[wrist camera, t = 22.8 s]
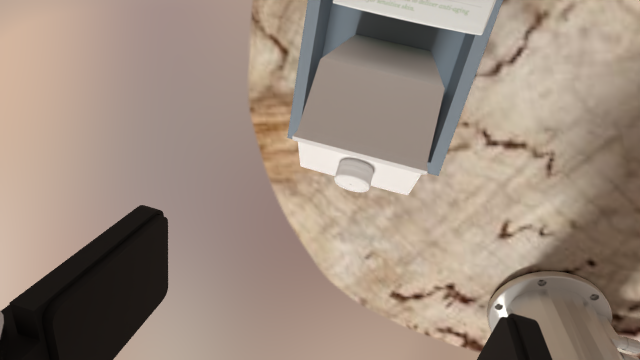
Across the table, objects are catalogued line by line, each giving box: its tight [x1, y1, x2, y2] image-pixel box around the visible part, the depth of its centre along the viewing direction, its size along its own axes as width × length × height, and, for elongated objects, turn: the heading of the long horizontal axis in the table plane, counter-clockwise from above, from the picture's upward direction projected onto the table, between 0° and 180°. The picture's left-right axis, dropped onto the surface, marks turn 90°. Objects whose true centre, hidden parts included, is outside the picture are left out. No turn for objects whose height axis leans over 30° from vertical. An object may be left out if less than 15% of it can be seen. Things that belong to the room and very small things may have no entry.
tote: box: [287, 0, 503, 176], centre depth 32 cm, size 14×22×6 cm, turn 170°
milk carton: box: [292, 35, 445, 195], centre depth 28 cm, size 7×7×19 cm
